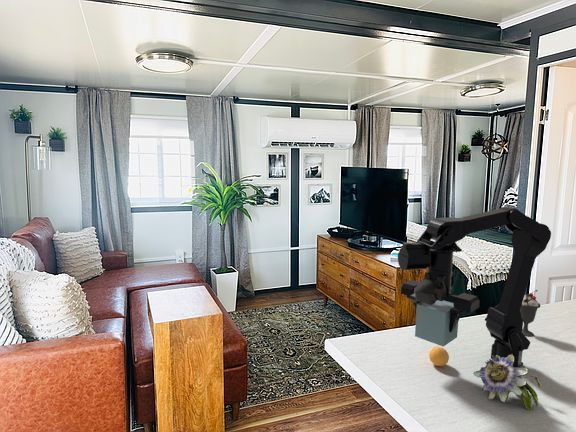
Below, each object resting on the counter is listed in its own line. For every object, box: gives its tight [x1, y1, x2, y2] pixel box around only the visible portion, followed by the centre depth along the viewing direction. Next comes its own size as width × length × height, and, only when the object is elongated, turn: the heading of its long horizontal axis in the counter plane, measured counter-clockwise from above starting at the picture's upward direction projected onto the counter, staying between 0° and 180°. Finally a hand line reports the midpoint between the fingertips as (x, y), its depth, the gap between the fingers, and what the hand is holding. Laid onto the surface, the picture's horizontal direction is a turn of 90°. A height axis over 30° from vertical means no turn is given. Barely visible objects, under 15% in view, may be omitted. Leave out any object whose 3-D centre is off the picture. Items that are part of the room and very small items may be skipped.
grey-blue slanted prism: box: [414, 300, 459, 348], centre depth 102 cm, size 8×8×9 cm
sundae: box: [520, 289, 541, 337], centre depth 125 cm, size 7×7×15 cm
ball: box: [428, 346, 450, 367], centre depth 105 cm, size 5×5×5 cm
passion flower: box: [472, 354, 542, 411], centre depth 92 cm, size 11×11×12 cm
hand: (435, 326), depth 102 cm, fingers closed on grey-blue slanted prism, 8 cm apart
